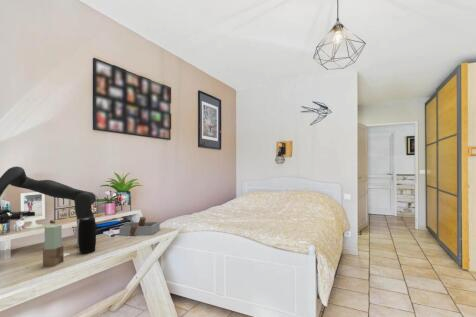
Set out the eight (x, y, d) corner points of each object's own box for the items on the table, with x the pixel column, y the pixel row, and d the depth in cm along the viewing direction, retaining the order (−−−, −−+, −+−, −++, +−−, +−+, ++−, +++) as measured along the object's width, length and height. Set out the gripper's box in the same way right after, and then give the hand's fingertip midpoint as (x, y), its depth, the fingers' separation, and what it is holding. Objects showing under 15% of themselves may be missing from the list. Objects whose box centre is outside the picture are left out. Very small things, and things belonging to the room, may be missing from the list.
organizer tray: (129, 230, 196) (129, 222, 196) (159, 229, 195) (159, 221, 195) (119, 235, 180) (119, 227, 180) (152, 235, 179) (151, 226, 179)
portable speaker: (75, 255, 141) (75, 219, 141) (82, 249, 150) (82, 216, 150) (92, 253, 142) (92, 218, 143) (98, 248, 152) (97, 215, 152)
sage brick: (52, 246, 131) (52, 225, 132) (61, 246, 131) (61, 224, 131) (44, 249, 126) (44, 227, 127) (54, 249, 126) (54, 227, 126)
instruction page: (52, 253, 144) (52, 253, 144) (71, 253, 143) (71, 252, 143) (40, 259, 136) (40, 258, 136) (60, 258, 135) (60, 258, 135)
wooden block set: (133, 238, 178) (136, 226, 176) (125, 232, 182) (128, 220, 180) (152, 231, 194) (155, 219, 193) (144, 226, 198) (148, 214, 196)
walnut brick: (52, 261, 131) (52, 246, 132) (63, 261, 131) (63, 246, 131) (42, 266, 125) (42, 249, 126) (54, 266, 125) (54, 249, 125)
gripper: (-18, 212, 123) (14, 210, 123) (9, 207, 137) (38, 205, 137) (-18, 227, 123) (15, 226, 122) (9, 221, 137) (39, 219, 137)
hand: (27, 215), depth 130 cm, fingers open, 8 cm apart
